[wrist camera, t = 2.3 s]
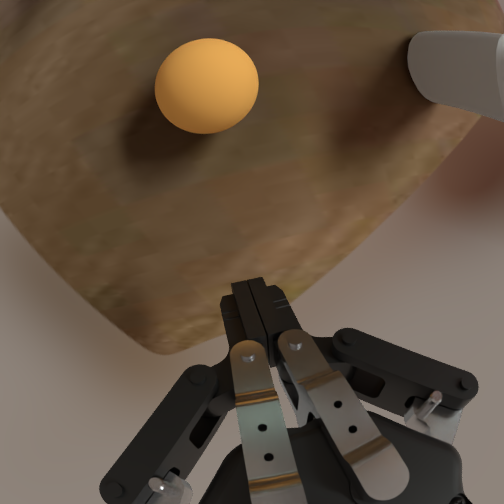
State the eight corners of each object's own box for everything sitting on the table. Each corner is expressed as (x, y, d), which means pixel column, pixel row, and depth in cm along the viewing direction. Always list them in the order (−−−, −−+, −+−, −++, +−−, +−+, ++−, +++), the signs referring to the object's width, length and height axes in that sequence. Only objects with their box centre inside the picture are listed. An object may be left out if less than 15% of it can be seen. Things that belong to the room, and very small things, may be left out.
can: (409, 105, 20) (519, 139, 10) (392, 30, 16) (507, 29, 6) (453, 99, 20) (546, 129, 10) (441, 34, 16) (538, 44, 6)
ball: (154, 56, 14) (143, 38, 9) (242, 44, 15) (266, 25, 10) (165, 135, 18) (158, 151, 13) (249, 122, 18) (275, 132, 13)
